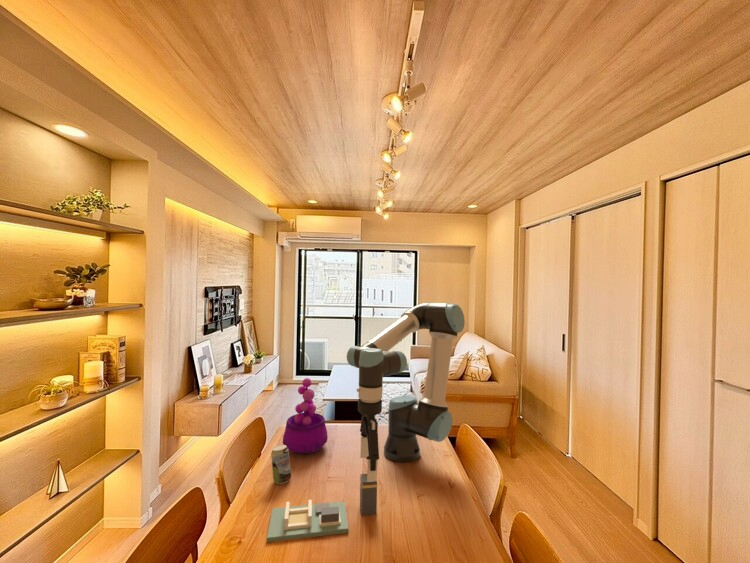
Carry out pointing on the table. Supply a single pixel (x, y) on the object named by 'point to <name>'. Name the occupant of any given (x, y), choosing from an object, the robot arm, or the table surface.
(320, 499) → the table surface
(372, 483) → the plug
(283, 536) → the board
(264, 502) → the table surface
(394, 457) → the robot arm
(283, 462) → the beverage can
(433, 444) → the table surface
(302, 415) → the decorative plant
